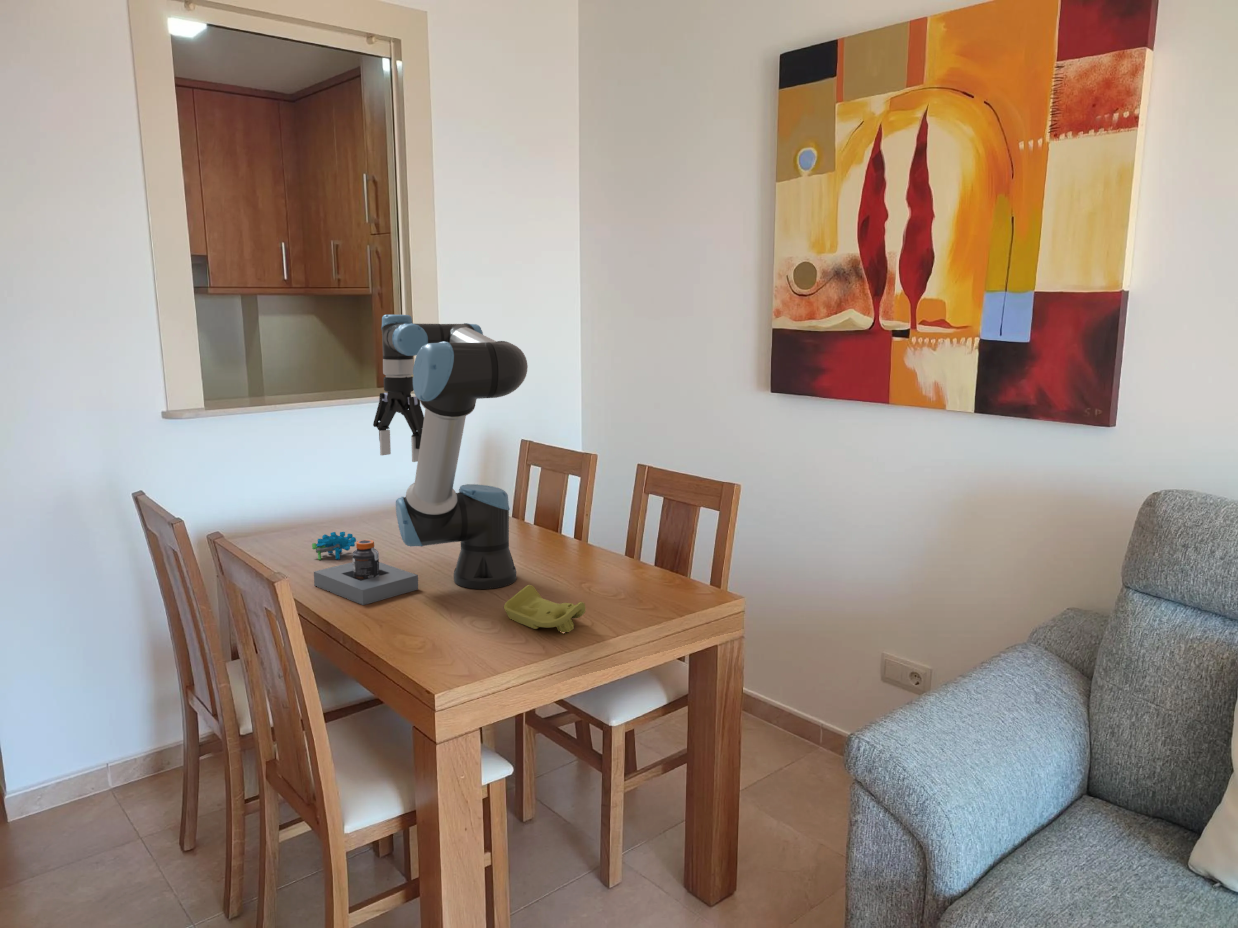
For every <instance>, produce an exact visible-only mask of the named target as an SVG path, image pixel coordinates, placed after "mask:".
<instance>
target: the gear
mask: <svg viewBox="0 0 1238 928" xmlns="http://www.w3.org/2000/svg"><path fill="white" fill-rule="evenodd" d="M353 535H354V534H353V533H347V534H346V531H340V532H339V535H338V534H337V533H336V531H332V532H330V535H328V534H326V533H325V534H323V535H321V536H322V537H321V538H317V543H315V542H313V543H312V544H311V549H312V550H315V553H316V554H317V557H318V558H317V560H318V561H321V560H322V553H327V554H333V553H334V554H335V560H336V561H337V560H340V559H341V556H340V554H341V553H342V552H343V550H345V551H350V550H351V547H352V548H353V547H356V545H355V544H356V543H357V538H356V537H354V536H353Z"/></svg>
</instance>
